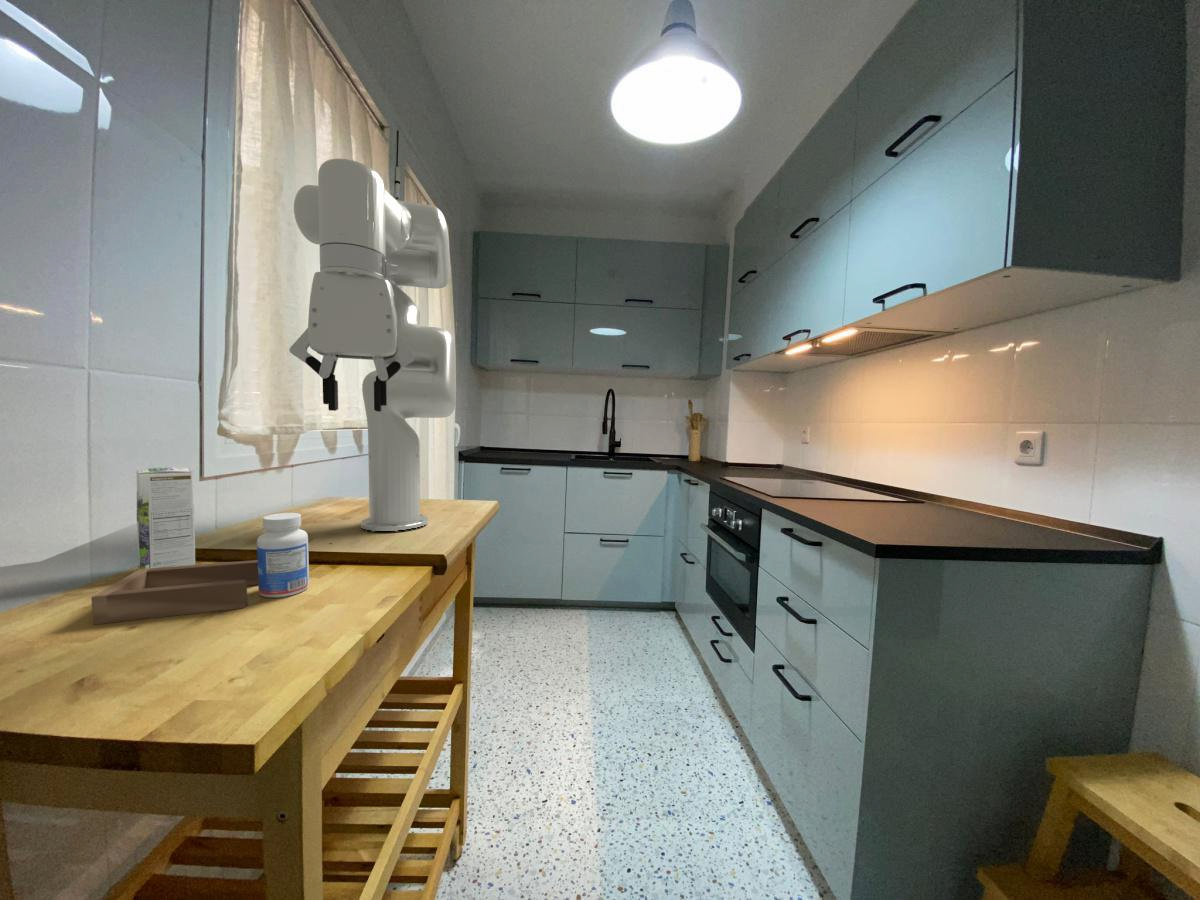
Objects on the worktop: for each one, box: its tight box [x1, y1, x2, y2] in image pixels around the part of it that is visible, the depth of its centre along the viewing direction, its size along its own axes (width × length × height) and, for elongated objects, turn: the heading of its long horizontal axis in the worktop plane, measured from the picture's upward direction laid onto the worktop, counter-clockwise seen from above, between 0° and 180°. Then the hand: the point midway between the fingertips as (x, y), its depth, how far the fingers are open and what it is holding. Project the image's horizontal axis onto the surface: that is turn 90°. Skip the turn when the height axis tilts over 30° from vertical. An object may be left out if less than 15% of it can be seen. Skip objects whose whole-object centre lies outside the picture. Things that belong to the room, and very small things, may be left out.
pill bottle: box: [256, 512, 310, 599], centre depth 60 cm, size 6×5×10 cm
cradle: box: [90, 559, 258, 625], centre depth 56 cm, size 9×13×3 cm
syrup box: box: [136, 466, 196, 570], centre depth 66 cm, size 6×6×14 cm
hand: (356, 409), depth 61 cm, fingers open, 4 cm apart
